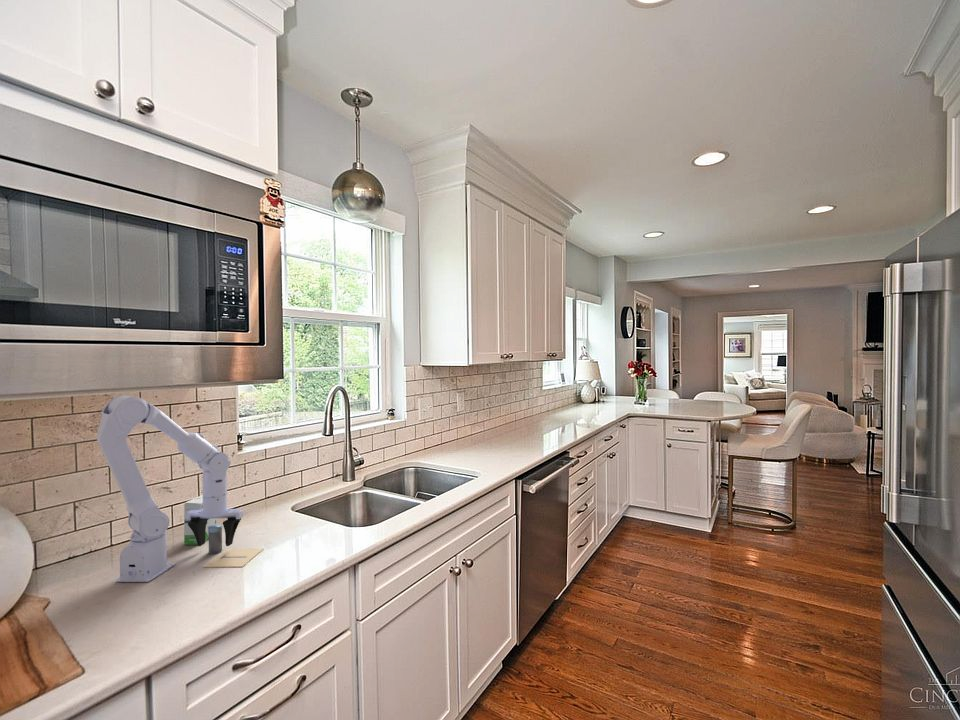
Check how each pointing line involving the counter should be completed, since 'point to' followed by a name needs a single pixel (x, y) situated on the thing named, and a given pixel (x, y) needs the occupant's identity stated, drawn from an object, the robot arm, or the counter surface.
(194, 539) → the ink box
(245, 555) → the tan square board
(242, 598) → the counter surface
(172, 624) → the counter surface
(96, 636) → the counter surface
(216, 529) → the marker
